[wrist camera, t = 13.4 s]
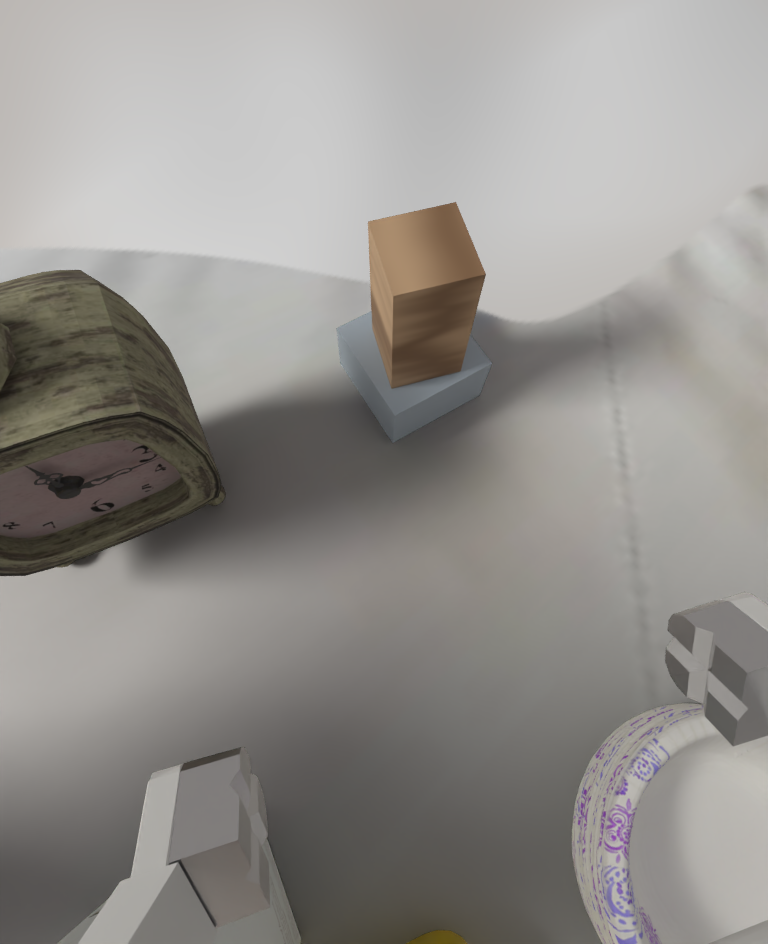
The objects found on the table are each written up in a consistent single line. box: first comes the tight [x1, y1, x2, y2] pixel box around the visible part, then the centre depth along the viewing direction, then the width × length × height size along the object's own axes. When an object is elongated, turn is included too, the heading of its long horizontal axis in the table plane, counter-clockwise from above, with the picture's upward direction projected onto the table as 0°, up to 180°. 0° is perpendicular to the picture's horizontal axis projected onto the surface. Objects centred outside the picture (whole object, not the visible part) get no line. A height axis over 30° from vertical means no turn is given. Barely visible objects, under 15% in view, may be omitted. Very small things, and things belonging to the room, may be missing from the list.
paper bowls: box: [572, 703, 768, 944], centre depth 29 cm, size 15×15×8 cm
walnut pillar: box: [368, 202, 486, 389], centre depth 34 cm, size 5×5×10 cm
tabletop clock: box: [0, 270, 226, 576], centre depth 28 cm, size 14×9×25 cm, turn 114°
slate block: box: [337, 311, 492, 443], centre depth 41 cm, size 8×8×5 cm
